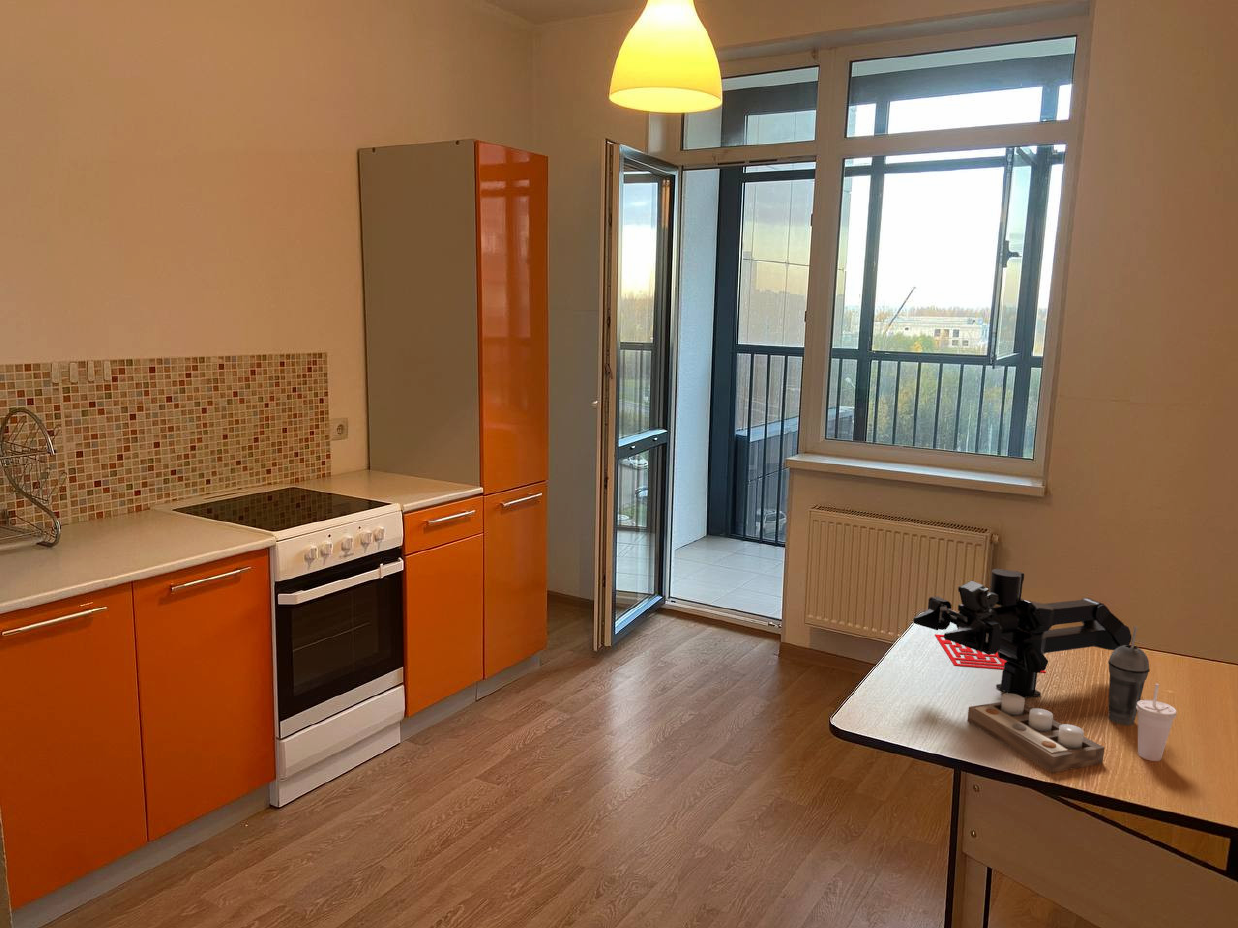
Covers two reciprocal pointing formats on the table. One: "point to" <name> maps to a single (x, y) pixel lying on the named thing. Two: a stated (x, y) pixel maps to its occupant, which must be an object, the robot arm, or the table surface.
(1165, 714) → the smoothie
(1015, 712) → the button
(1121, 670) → the beverage cup
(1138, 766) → the table surface
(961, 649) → the maze puzzle
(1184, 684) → the table surface
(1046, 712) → the button middle
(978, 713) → the button board
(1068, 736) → the button
